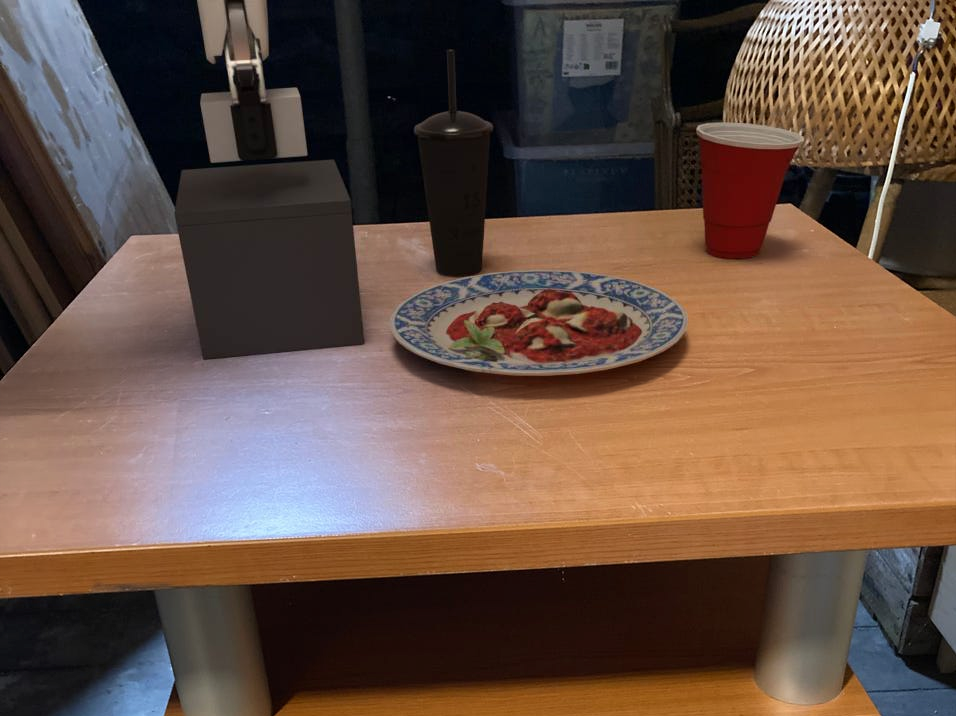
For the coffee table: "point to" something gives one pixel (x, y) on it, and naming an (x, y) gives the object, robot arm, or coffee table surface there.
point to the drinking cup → (455, 183)
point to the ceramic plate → (539, 322)
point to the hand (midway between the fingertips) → (257, 149)
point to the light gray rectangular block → (283, 115)
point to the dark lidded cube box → (269, 258)
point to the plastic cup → (742, 183)
